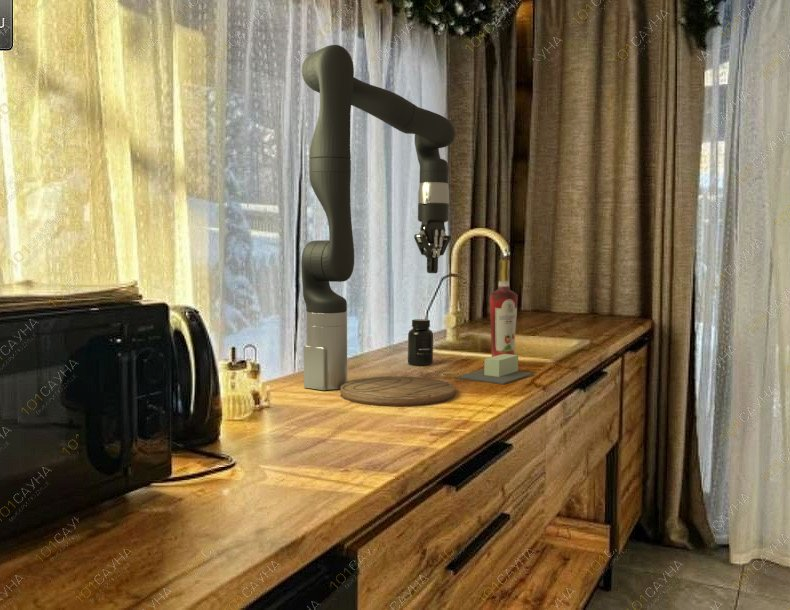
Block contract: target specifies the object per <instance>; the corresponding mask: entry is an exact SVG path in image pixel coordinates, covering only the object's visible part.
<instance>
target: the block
mask: <svg viewBox="0 0 790 610" xmlns="http://www.w3.org/2000/svg"><path fill="white" fill-rule="evenodd" d="M483 369H484V375H488V376H497V377H500V376H503V375H506V374H510V373H513V372H516V371H519V354H514V355H511V354H501V355H497V356H494V357H492V356H490V357H486V358H484V367H483Z"/></svg>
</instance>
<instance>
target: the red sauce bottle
mask: <svg viewBox="0 0 790 610" xmlns="http://www.w3.org/2000/svg"><path fill="white" fill-rule="evenodd" d="M498 269H499V276H498V285H497V286H498V287H497V289H496V290H494V291H493V292H491V293H490V294H489V313H490V315H489V316H490V334H491V335H490V336H491V337H490V339H491V340H490V342H491V345H490V346H491V357H494V356H497V355H501V354H511V355H515V349H516V348H515V345H516V344H515V343H516V342H515V341H516V330H517V329H516V327H517V316H518V314H517V313H518V299H519V298H518V296H519V295H518V294H517V293H516V292H515V291H513V290H511V289H510V278H509V269H510V260H508V259H504V260H503V259H499V261H498Z"/></svg>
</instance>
